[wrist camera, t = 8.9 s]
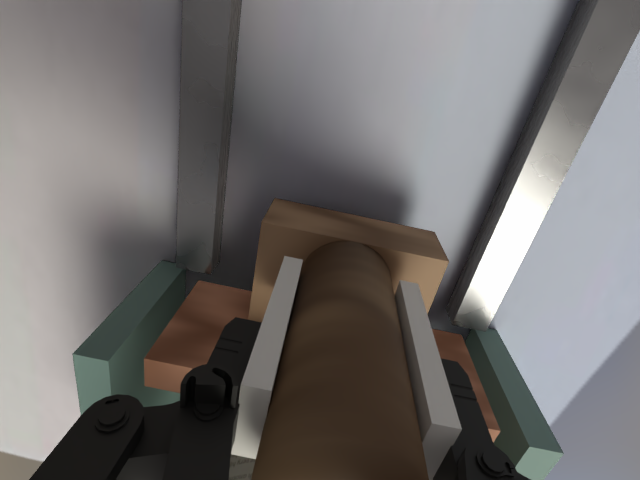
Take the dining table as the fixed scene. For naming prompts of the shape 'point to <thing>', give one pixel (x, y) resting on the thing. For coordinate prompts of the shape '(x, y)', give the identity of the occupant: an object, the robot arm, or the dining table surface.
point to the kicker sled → (327, 345)
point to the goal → (128, 379)
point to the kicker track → (515, 187)
